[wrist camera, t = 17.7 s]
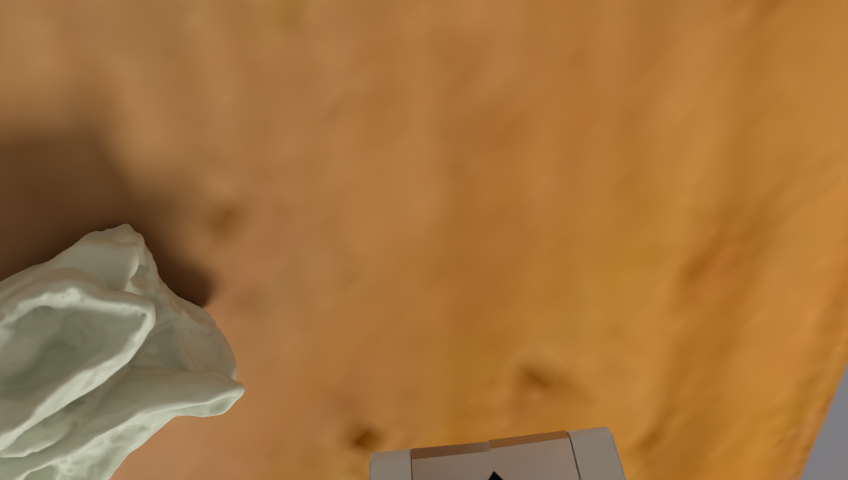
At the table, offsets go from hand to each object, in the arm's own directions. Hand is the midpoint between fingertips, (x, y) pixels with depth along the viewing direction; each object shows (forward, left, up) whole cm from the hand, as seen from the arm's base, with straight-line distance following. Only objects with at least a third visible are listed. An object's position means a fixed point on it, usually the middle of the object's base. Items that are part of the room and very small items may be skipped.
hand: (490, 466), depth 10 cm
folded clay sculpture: (+20, -21, -29) cm, 41 cm away
